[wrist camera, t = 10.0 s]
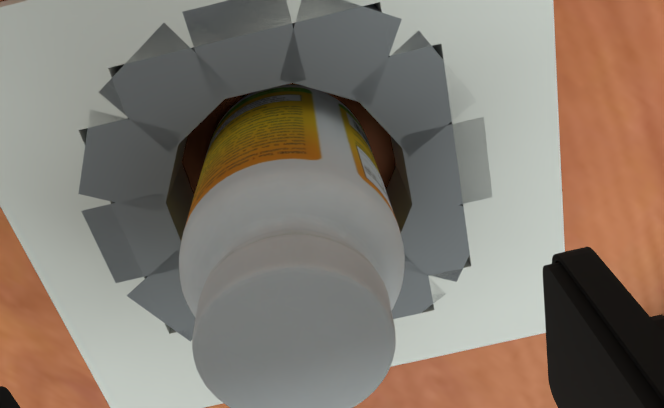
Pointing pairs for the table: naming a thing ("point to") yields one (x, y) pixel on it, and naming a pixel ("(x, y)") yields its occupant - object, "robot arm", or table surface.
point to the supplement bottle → (291, 256)
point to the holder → (255, 75)
